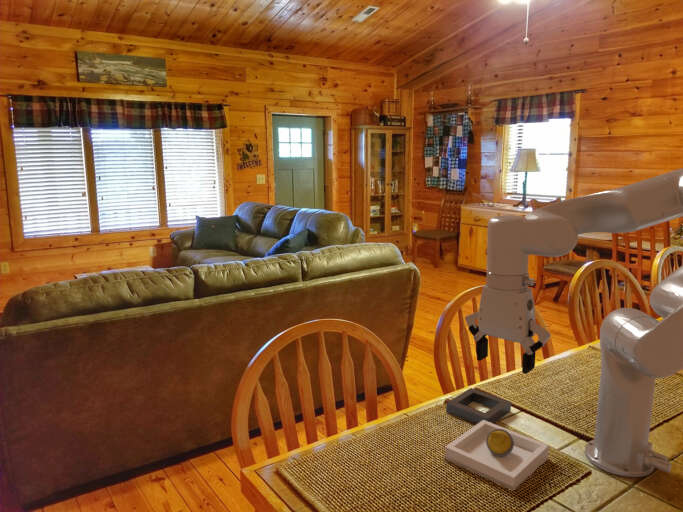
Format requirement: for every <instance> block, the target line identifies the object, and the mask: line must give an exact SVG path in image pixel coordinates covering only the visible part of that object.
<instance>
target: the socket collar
mask: <svg viewBox="0 0 683 512" xmlns="http://www.w3.org/2000/svg"><path fill="white" fill-rule="evenodd" d="M471 403H476V404H477V405H478V404H479V405H481V406H484V407H487V408H489V409H488V410H487V411H485V412H483V411H481V410H478V409H475V408H473V407H470V406H468V405H470V404H471ZM445 404H446V409H445V410H446V411H445V412H446V413H448V414H450V415H451V416H454V417H457V418H459V419H462V420H464V421H467V422H470V423H472V424H474V425H477V424H478V423H479V422H481V421H482V420H485V421H488V422H490V423H493V424H496V423H497V422H498V421H500V420H501V419H502V418H504V417H505V416H507V415H508V414H509V413H510V412H512V401H510V400H507V399H503V398H501V397H498V396H496V395H493V394H489V393H487V392H484V391H481V390H478V389H475V388H472V387H470V388H468V389H466V390H465V391H464V392H462V393H460V394H459V395H457V396H456V397H454V398H452V399H450V400H449V401H447V402H446V403H445Z"/></svg>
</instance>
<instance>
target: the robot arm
mask: <svg viewBox="0 0 683 512" xmlns="http://www.w3.org/2000/svg"><path fill="white" fill-rule="evenodd" d="M679 218H683V168H678V169H675V170H672V171H669V172H666V173H662V174H659V175H657V176H653V177H650V178H647V179H644V180H640V181H638V182H634V183H633V182H632V183H631V184H628V185H624V186H620V187H617V188H613V189H609V190H604V191H599V192H595V193H591V194H586V195H583V196H577V197H572V198H569V199H565V200H560V201H557V202H554V203H551V204H549V205H545V206H542V207H538V208H537V209H534V210H532V211H530V212H528V213H527V214H525V215H524V216H523V215H522V216H521V215H511V214H506V215H505V214H504V215H503V214H502V215H497V216H496V215H495V216H493V217H491V218H490V219H489V221H488V222H487V229H486V231H487V232H486V233H487V235H486V237H487V239H486V240H487V241H486V280H485V281H486V282H485V283H486V284H484V285H483V287H482V291H481V295H480V300H479V305H478V306H479V308H478V311H477V312H473V313H470V314H467V315H466V316H465V317H464V320H465V322H466V325H467V327H468V330H469V333H470V334H471V335H472V336H473V340H474V342H475V354H476V360H477V361H482V360H485V359H486V358H488V356H489V355H488V354H489V339H488V337H487V336H489V337H493V338H498V339H502V340H505V341H509V342H514V343H519V344H520V346H521V347H522V349H523V350H524V353H523V354H522V366H521V370H522V371H521V373H522V374H525V375H527V374H529V373H530V372H531V371H532V370H533V369H534V368H535V366H536V352H537V351H538V350H540V349H542V348H543V347H545V345H546V343H547V342H548V340H549V338H551V333H550V331H548V330H546V329H545V328H543V326H541V325H540V324H538V323H536V307H535V300H534V294H533V289H532V288H529V287H533V286H534V285H535V278H532V277H529V275H530V273H529V257H530V256H531V255H532V256H542V257H547V258H548V257H549V258H551V257H552V258H553V257H554V258H556V257H562V256H565V255H567V254H569V253H571V252H572V251H573V250H574V249H575V247H576V246H577V244H578V240H579V235H582V234H589V233H591V234H593V233H606V234H607V233H608V234H624V233H632V232H633V233H635V232H637V231H640V230H643V229H647V228H649V227H652V226H653V227H654V226H657V225H659V224H663V223H665V222H669V221H672V220H676V219H679ZM529 255H530V256H529ZM649 304H650V307H651V308H652V310H653V311H654V313H656V314H657V315H658V316H660V317H661V318H662V319H661V320H658V319H656V318H655V317H653V316H651V315H649V314H648V313H646V312H644V311H641V310H640V309H637V308H631V307H620V308H617V309H615V310H612V311H611V312H609V313H608V314H607V315H606V316H605V318H604V319H603V321H602V322H601V326H600V330H599V343H600V344H599V345H600V359H601V361H600V365H601V367H600V377H599V380H600V381H599V385H598V387H599V388H598V397H597V399H598V400H597V407H596V408H597V409H596V416H595V417H596V419H595V431H594V439H592V440H590V441H588V442H587V443H586V444H585V448H584V453H585V454H584V455H585V456H586V458H587V459H588V461H589V462H590V463H591V464H593V465H594V466H595V467H597V468H599V469H601V470H603V471H604V472H607V473H610V474H613V475H616V476H621V477H627V478H641V477H645V476H646V477H647V476H649V475H651V473H653V472H654V470H655V469H658V470H660V471H662V472H665V473H668V474H669V473H670V472H671V469H672V462H670V461H668V456H666V455H664V454H662V453H661V454H660V453H657V452H655V450H653V449H652V448H653V443H652V442H651V441H649V439H650V438H649V437H650V429H651V422H652V421H651V419H652V413H653V412H652V411H653V403H654V395H655V388H656V387H655V386H656V385H655V384H656V379H663V378H664V379H665V378H669V377H671V376H673V375H675V374H677V373H679V372H680V371H682V370H683V264H682V265H681V266H679V267H678V268H677V269H675V271H673V272H672V273H671V274H669V275H668V276H667V277H665V278H664V279H663V280H661V281H660V282H658V284H657V285H656V286H655V287H653V289H652V291H651V292H650V295H649ZM476 320H477V323H478V325H477V324H476ZM535 335H537V336H538V339H537V341H535V340H534V338H533V337H535Z"/></svg>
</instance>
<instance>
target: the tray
mask: <svg viewBox="0 0 683 512" xmlns="http://www.w3.org/2000/svg"><path fill="white" fill-rule="evenodd" d="M495 429H503V430H505V431H507V432H508V433H509V434H510V435H511V436H512V438H513V441H514V447H513V450H512V451H511V453H510V454H508V455H507V456H503V457H499V456H496V455H494V454H492V453H491V452H490V451H489V449H488V447H487V444H486V440H487V436H488V435H489V433H490V432H491V431H493V430H495ZM549 450H550V445H549V444H547V443H544V442H541V441H539V440H536V439H534V438H532V437H529V436H526V435H524V434H522V433H518V432H516V431H513V430H511V429H508V428H505V427H502V426H500V425H498V424H496V423H494V424H493V423H490V422H488V421H485V420H482V421H481V422H479V423H478V424H474V426H472V427H471V428H470V429H468V430H466V431H465V432H464V433H463V434H461V435H460V436H458V437H457V438H455V439H454V440H452V441H451V442H450V443H448V444H447V445H445V447H444V460H445V459H446V460H448V461H450V462H452V463H454V464H456V465H455V466H457V465H458V466H457V467H459V466H461V467H463V468H465V469H468V470H469V471H471V472H474V473H475V474H474V473H473V474H474V475H476V474H478V475H480V476H482V477H485V478H487V479H489V480H491V481H493V482H495V483H497V484H500V485H502V486H504V487H506V488H508V489H511V490H512V491H513V490H514V489H516V488H517V487H518V486H519V485H520V484H521V483H522V482H523V481H524V480H525V479H526V480H527V479H528V478H529V477H531V475H533V474H534V473H535V472H536V471H537V470H538V469H539V468H540V467H541V466H542V465H543V464H544V463H545V462H546V461H547V460H548V459H549ZM446 460H445V461H446ZM448 461H447V462H448ZM450 462H449V463H450ZM452 463H451V464H452ZM454 464H453V465H454ZM540 465H541V466H540ZM539 466H540V467H539ZM461 467H460V468H461ZM538 467H539V468H538ZM463 468H462V469H463ZM537 468H538V469H537ZM465 469H464V470H465ZM536 469H537V470H536ZM535 470H536V471H535ZM469 471H468V472H469ZM534 471H535V472H534ZM471 472H470V473H471ZM533 472H534V473H533ZM478 475H477V476H478ZM480 476H479V477H480ZM528 476H529V477H528ZM482 477H481V478H482ZM527 477H528V478H527ZM526 480H525V481H526ZM525 481H524V482H525ZM493 482H492V483H493ZM524 482H523V483H524ZM495 483H494V484H495ZM523 483H522V484H523ZM497 484H496V485H497ZM522 484H521V485H522ZM521 485H520V486H521ZM520 486H519V487H520ZM519 487H518V488H519ZM518 488H517V489H518ZM517 489H516V490H517ZM512 491H511V492H512Z"/></svg>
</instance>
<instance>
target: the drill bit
mask: <svg viewBox="0 0 683 512" xmlns="http://www.w3.org/2000/svg"><path fill="white" fill-rule="evenodd" d="M486 444H487V447H488V449H489V451H490V452H491V453H492V454H494V455H496V456H499V457H503V456H507V455H508V454H510V453H511V451H512V450H513V447H514V441H513V438H512V436H511V435H510V434H509V433H508V432H507V431H505V430H503V429H495V430H493V431H491V432H490V433H489V435H488V436H487V440H486Z"/></svg>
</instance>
